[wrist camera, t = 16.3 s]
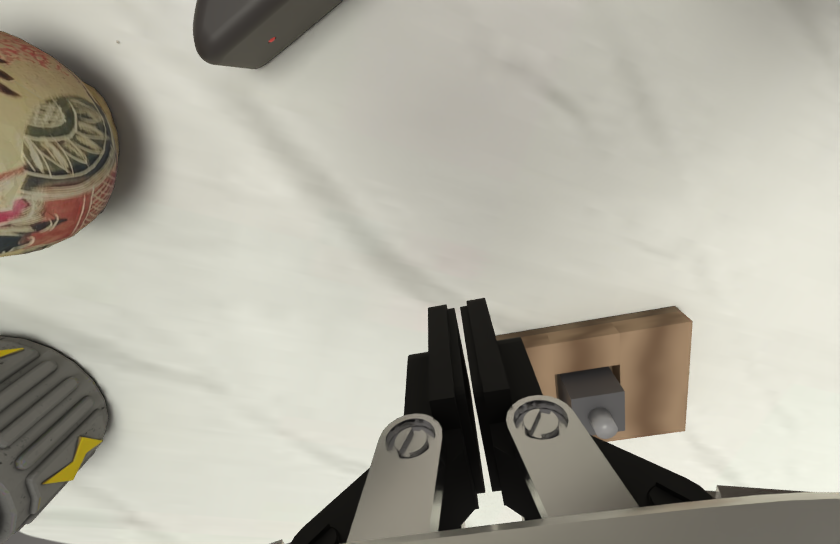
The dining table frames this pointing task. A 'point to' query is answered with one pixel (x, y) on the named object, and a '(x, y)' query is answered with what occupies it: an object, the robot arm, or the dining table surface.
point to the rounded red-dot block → (252, 28)
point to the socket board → (623, 363)
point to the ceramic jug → (50, 150)
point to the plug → (594, 400)
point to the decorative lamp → (42, 428)
